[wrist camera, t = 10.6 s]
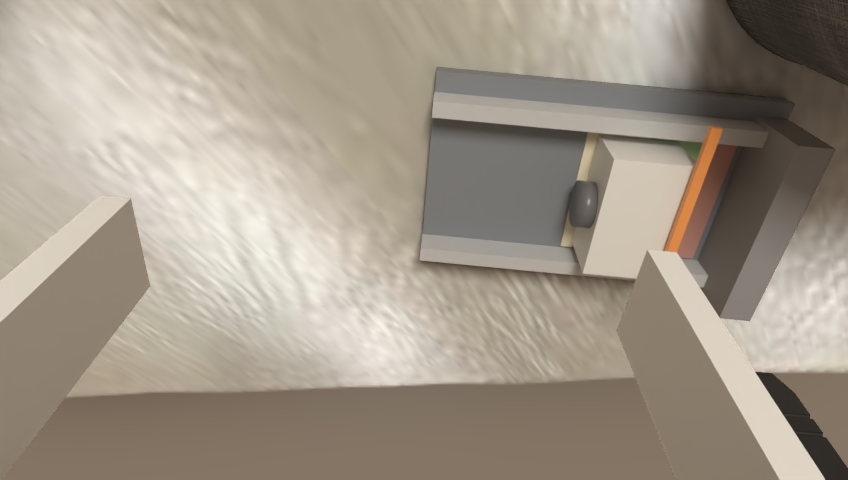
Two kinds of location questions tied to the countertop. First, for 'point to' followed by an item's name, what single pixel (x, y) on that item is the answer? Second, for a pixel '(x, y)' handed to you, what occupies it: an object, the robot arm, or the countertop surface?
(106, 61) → the countertop surface
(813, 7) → the planter
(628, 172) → the cream box orange strip
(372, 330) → the countertop surface
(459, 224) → the gauge base
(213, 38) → the countertop surface
